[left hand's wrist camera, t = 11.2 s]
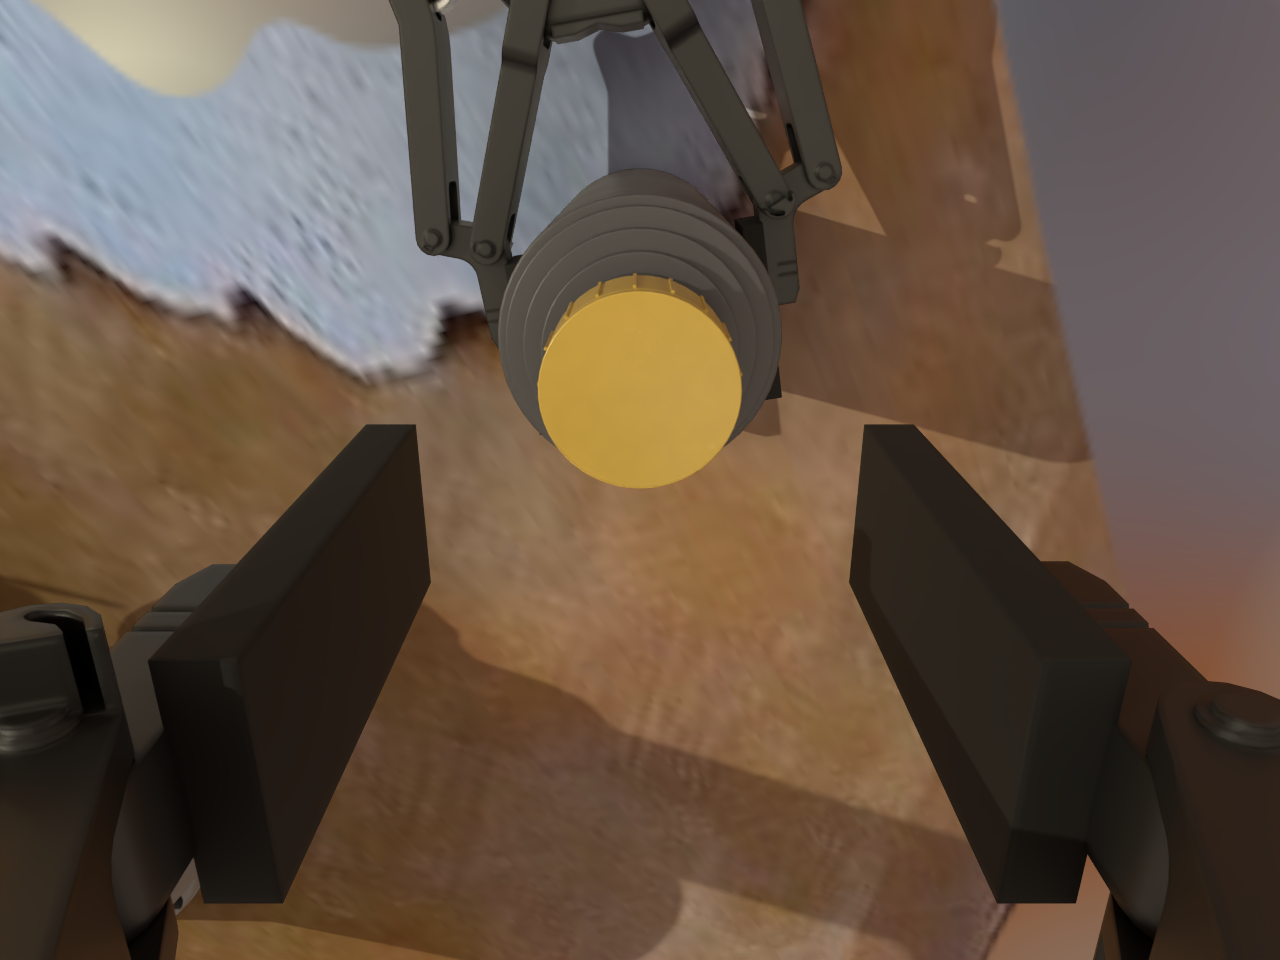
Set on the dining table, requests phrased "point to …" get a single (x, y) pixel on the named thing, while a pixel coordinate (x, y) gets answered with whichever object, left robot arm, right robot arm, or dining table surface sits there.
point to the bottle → (647, 245)
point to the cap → (639, 382)
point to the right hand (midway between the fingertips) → (659, 405)
